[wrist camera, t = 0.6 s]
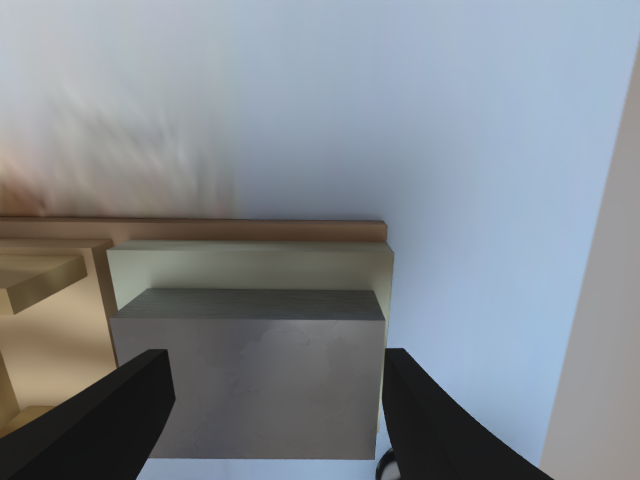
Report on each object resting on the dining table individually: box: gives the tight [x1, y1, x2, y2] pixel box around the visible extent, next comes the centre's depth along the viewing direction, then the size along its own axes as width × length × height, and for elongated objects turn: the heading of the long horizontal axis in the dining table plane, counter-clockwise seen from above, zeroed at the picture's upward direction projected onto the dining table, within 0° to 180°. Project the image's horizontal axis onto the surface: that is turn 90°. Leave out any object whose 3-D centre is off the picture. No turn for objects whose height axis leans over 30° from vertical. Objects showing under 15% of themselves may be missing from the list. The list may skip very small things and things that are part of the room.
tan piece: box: [0, 217, 394, 438], centre depth 17 cm, size 14×30×7 cm, turn 89°
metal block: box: [109, 288, 386, 460], centre depth 16 cm, size 8×12×3 cm, turn 89°
